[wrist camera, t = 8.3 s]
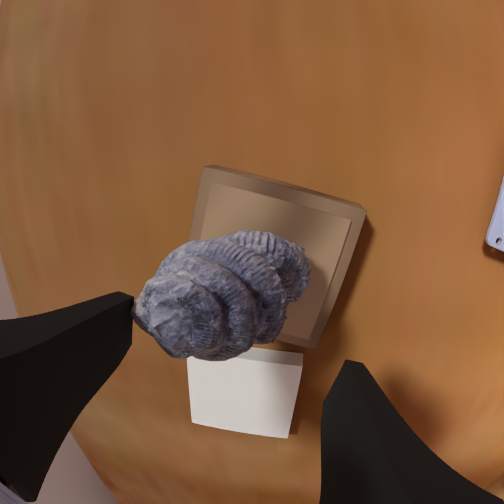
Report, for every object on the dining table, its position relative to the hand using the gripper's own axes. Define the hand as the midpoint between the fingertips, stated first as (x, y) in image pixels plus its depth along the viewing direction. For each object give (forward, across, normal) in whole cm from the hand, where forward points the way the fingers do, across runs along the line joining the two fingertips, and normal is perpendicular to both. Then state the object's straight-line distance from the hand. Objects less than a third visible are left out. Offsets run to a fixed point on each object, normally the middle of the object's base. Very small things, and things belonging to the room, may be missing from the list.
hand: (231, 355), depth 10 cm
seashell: (+8, 0, 0) cm, 8 cm away
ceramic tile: (+10, -1, +11) cm, 15 cm away
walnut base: (+10, 0, 0) cm, 10 cm away
